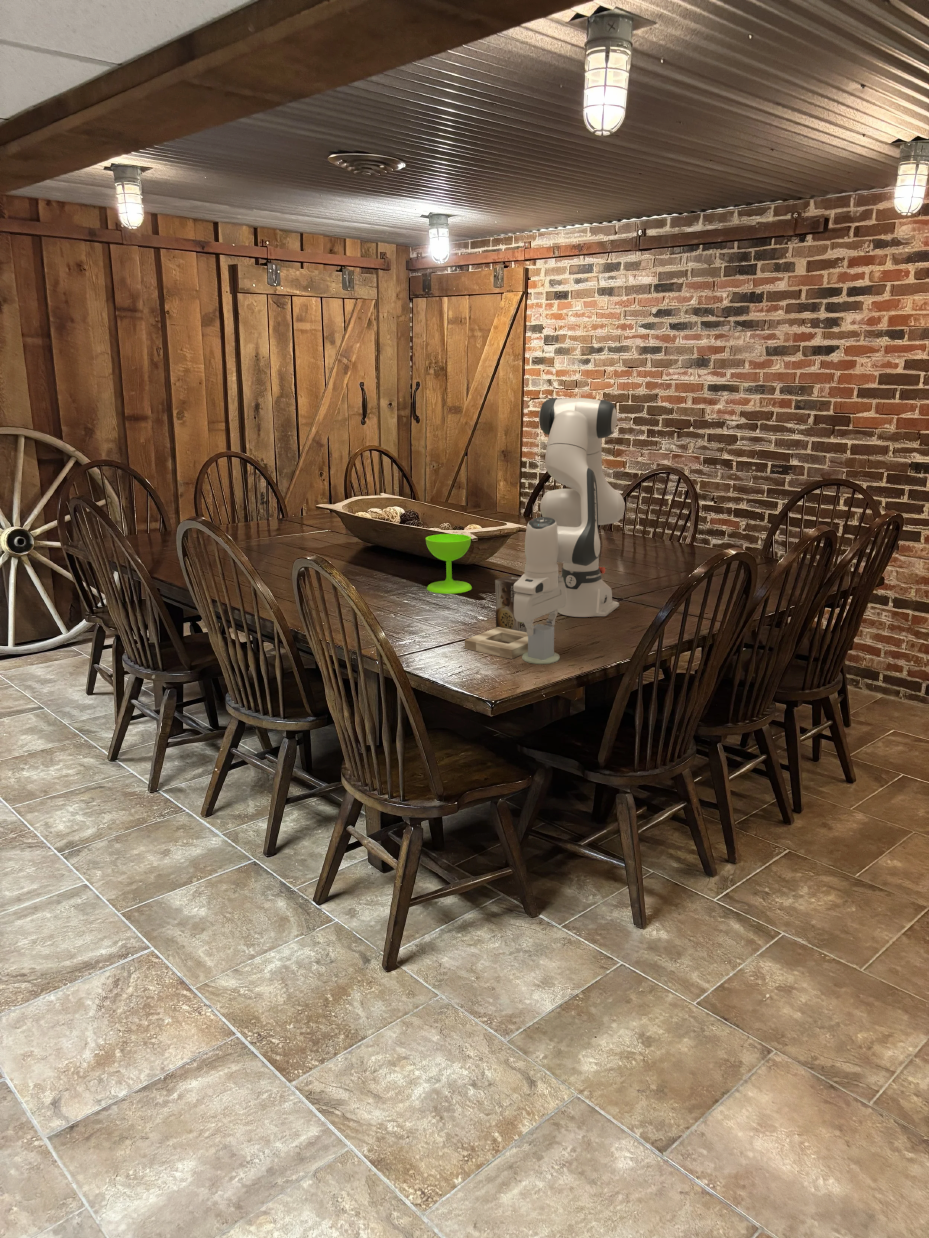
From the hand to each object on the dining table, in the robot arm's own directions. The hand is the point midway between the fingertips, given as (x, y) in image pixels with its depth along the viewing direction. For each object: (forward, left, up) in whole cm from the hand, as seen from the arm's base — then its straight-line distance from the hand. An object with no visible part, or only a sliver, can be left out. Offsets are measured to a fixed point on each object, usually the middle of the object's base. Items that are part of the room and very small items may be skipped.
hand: (540, 630), depth 244 cm
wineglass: (-48, -70, -8) cm, 85 cm away
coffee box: (-16, -20, -8) cm, 26 cm away
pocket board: (-3, -14, -8) cm, 16 cm away
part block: (0, 0, -7) cm, 7 cm away
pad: (0, 0, -8) cm, 8 cm away
